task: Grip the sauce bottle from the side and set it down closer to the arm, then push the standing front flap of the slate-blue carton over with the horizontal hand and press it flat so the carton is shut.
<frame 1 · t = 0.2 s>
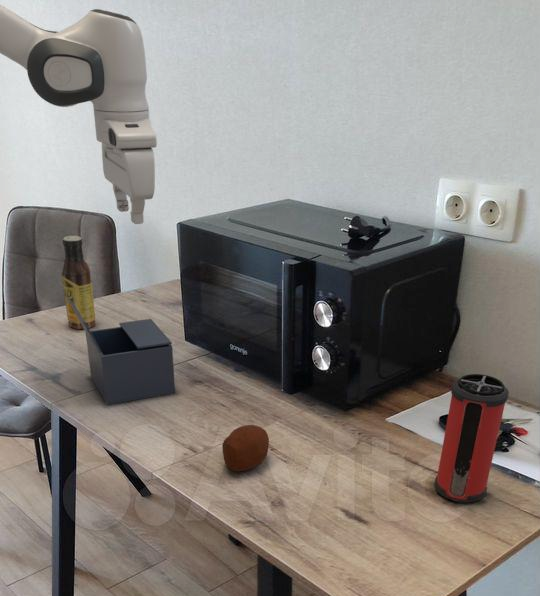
hand: (130, 216, 123), 30 cm above the table, tool pointing down, fingers open, 8 cm apart
speaker: (459, 491, 108), on the table
flap: (84, 325, 126), point 13 cm above the table, hinge at 110.0°
sauce bottle: (82, 326, 162), on the table
potato: (246, 464, 113), on the table
carton: (132, 385, 136), on the table
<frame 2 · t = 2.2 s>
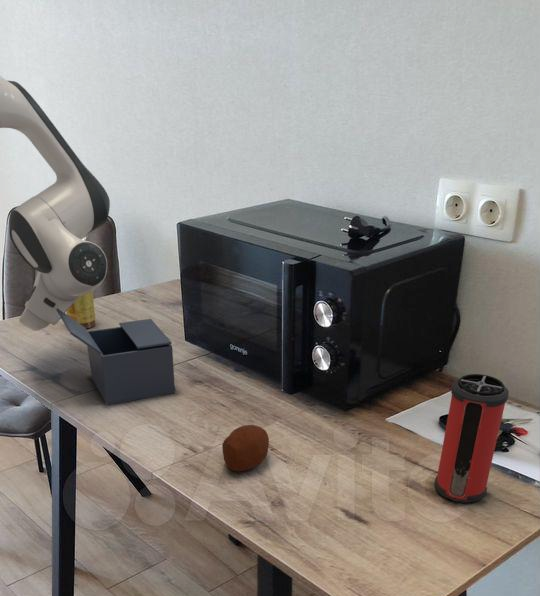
hand: (44, 287, 144), 13 cm above the table, tool tilted 65°, fingers open, 8 cm apart
flap: (78, 330, 126), point 12 cm above the table, hinge at 136.3°
everything else where it was.
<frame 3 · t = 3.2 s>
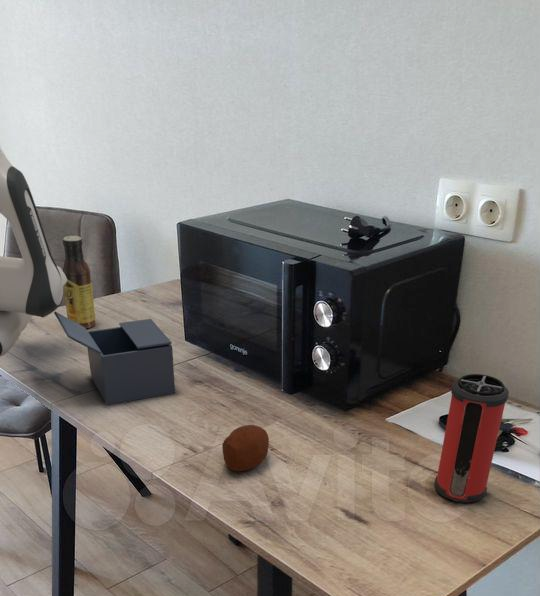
hand: (30, 279, 150), 12 cm above the table, tool horizontal, fingers open, 8 cm apart
flap: (77, 332, 126), point 12 cm above the table, hinge at 142.8°
everything else where it was.
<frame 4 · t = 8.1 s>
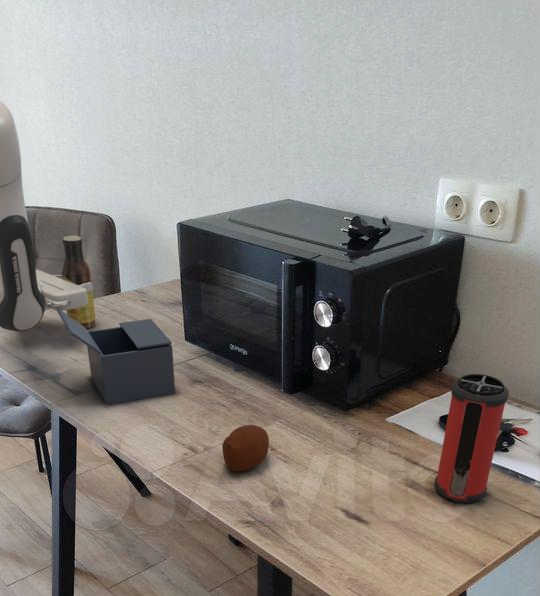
hand: (80, 281, 157), 10 cm above the table, tool horizontal, fingers closed on sauce bottle, 6 cm apart
flap: (78, 330, 126), point 12 cm above the table, hinge at 136.1°
sauce bottle: (82, 326, 162), on the table, touching gripper
everything else where it was.
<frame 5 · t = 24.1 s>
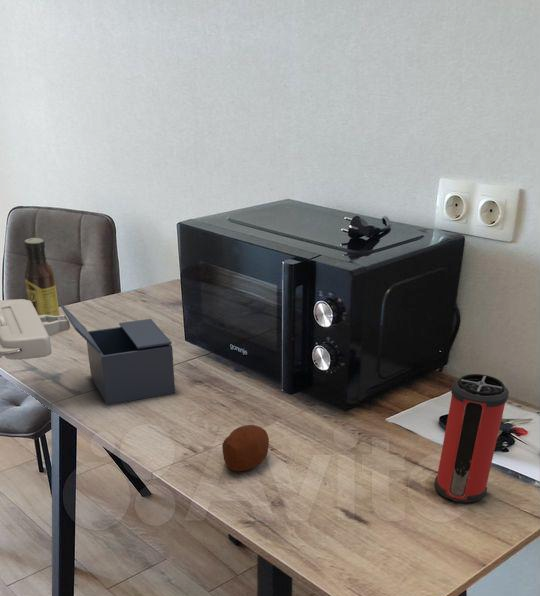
hand: (68, 322, 124), 14 cm above the table, tool horizontal, fingers closed
flap: (80, 328, 126), point 13 cm above the table, hinge at 126.4°
sauce bottle: (47, 329, 160), on the table
everything else where it was.
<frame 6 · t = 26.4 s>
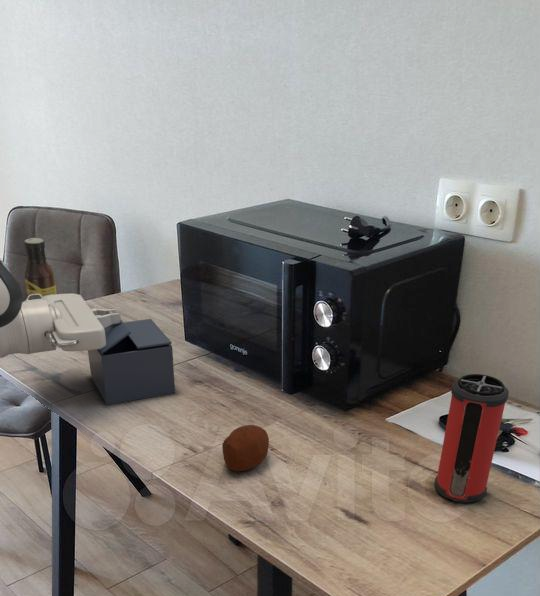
hand: (118, 315, 128), 14 cm above the table, tool horizontal, fingers closed, pressing on flap
flap: (107, 330, 128), point 12 cm above the table, hinge at 29.1°, touching gripper
everything else where it was.
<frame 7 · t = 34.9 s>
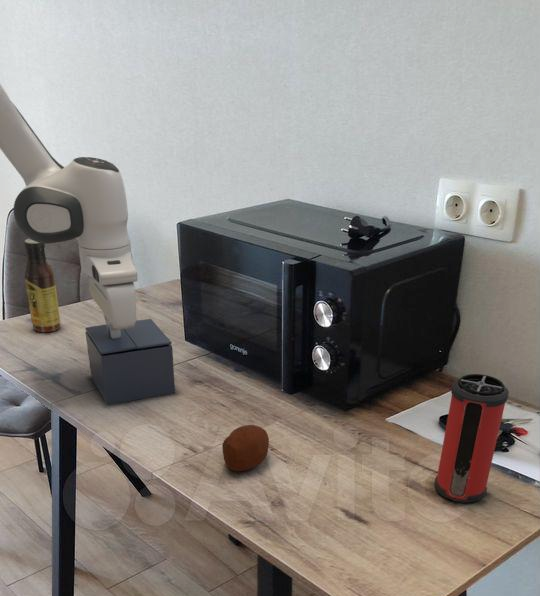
hand: (114, 335, 129), 10 cm above the table, tool pointing down, fingers closed, pressing on flap
flap: (110, 337, 129), point 10 cm above the table, hinge at 0.8°, touching gripper
everything else where it was.
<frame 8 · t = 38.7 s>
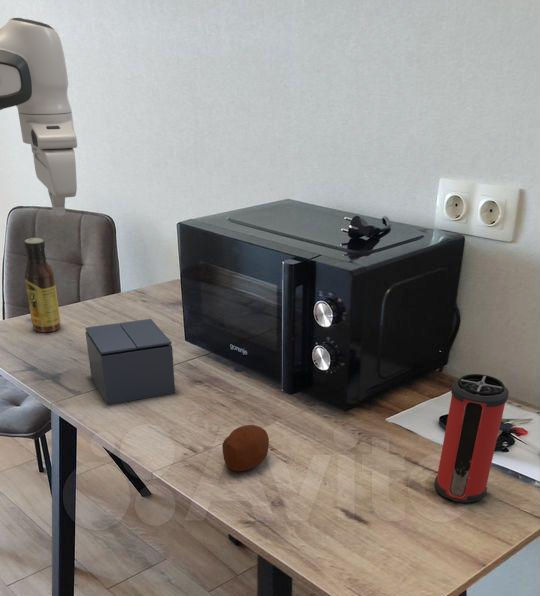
hand: (59, 214, 129), 29 cm above the table, tool pointing down, fingers closed
flap: (110, 338, 129), point 10 cm above the table, hinge at -0.1°
everything else where it was.
at the end: flap at +0° (first picture: +110°); sauce bottle inside the target area (0.2 cm from its centre), on the table; sauce bottle tilted 0° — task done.
